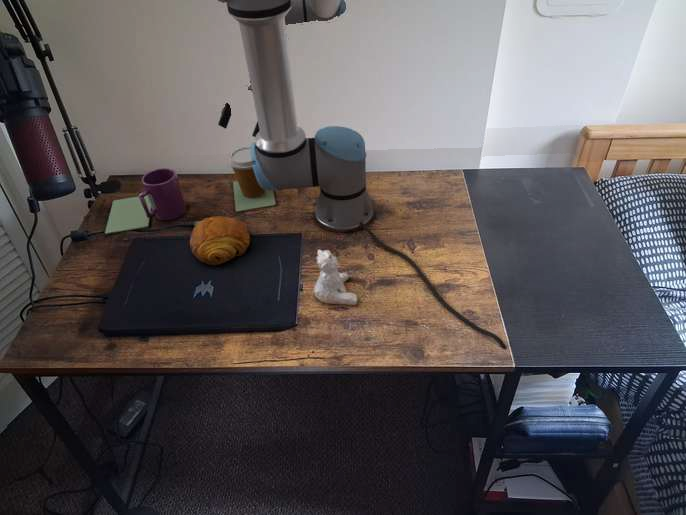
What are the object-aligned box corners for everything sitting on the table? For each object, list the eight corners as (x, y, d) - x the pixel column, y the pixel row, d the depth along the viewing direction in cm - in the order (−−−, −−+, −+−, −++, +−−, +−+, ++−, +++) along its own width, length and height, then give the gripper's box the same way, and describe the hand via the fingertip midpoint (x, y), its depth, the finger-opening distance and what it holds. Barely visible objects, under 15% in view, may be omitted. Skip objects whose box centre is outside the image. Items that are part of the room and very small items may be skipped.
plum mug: (172, 199, 131) (160, 165, 124) (193, 207, 127) (182, 172, 120) (139, 220, 123) (125, 185, 116) (161, 229, 120) (147, 194, 113)
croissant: (193, 276, 109) (182, 254, 103) (196, 230, 119) (186, 207, 113) (254, 266, 110) (247, 244, 104) (251, 221, 120) (245, 199, 114)
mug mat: (148, 227, 121) (148, 226, 121) (105, 234, 119) (104, 233, 119) (153, 195, 133) (152, 194, 133) (113, 201, 131) (113, 200, 131)
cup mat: (276, 205, 126) (275, 204, 126) (236, 212, 124) (235, 211, 124) (269, 176, 138) (269, 175, 138) (233, 182, 136) (232, 181, 136)
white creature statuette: (359, 305, 96) (358, 263, 88) (320, 315, 95) (315, 273, 87) (346, 276, 103) (344, 234, 95) (309, 285, 102) (304, 243, 94)
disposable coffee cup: (267, 201, 127) (260, 162, 119) (233, 202, 127) (224, 163, 120) (272, 182, 134) (266, 145, 126) (240, 183, 135) (231, 146, 127)
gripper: (307, 73, 124) (279, 147, 125) (242, 59, 136) (217, 127, 137) (292, 59, 117) (262, 137, 119) (225, 46, 129) (199, 117, 130)
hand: (238, 132), depth 128 cm, fingers open, 13 cm apart
